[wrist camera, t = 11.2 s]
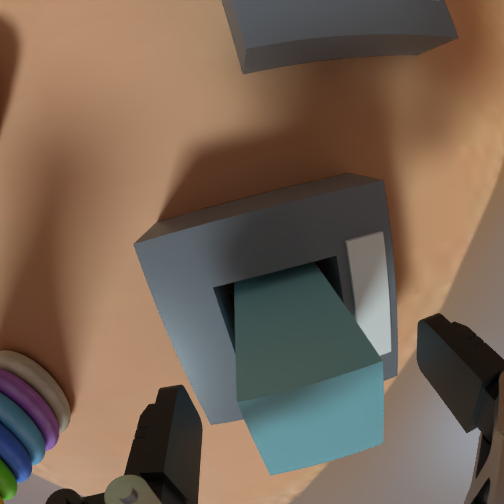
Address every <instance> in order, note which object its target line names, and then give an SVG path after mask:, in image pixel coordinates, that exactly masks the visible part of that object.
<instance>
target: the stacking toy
mask: <svg viewBox="0 0 504 504" xmlns="http://www.w3.org/2000/svg"><path fill="white" fill-rule="evenodd" d="M70 417H71V413H70V407H69V404H68V401H67V399H66V396H65V395H64V393H63V391H62V389H61V388H60V386H59V385H58V384H57V382H56V381H55V380H54V379H53V378H52V377H51V375H50V374H49V373H48V372H47V371H46V370H44V369H43V368H42V367H41V366H40V365H39V364H37V363H36V362H34V361H33V360H31V359H30V358H28V357H26V356H24V355H22V354H20V353H17V352H14V351H8V350H4V351H0V504H4V502H3V500H9V499H11V498H12V497H14V496H15V494H16V492H17V483H18V482H23V481H25V480H27V479H28V478H29V477H30V475H31V472H32V465H35V464H38V463H39V462H41V460H42V459H43V458H44V455H45V451H47V450H49V449H51V448H53V447H54V446H55V445H56V443H57V441H58V438H59V434H60V433H62V432H63V431H65V430H66V428H67V427H68V425H69V423H70Z"/></svg>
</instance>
